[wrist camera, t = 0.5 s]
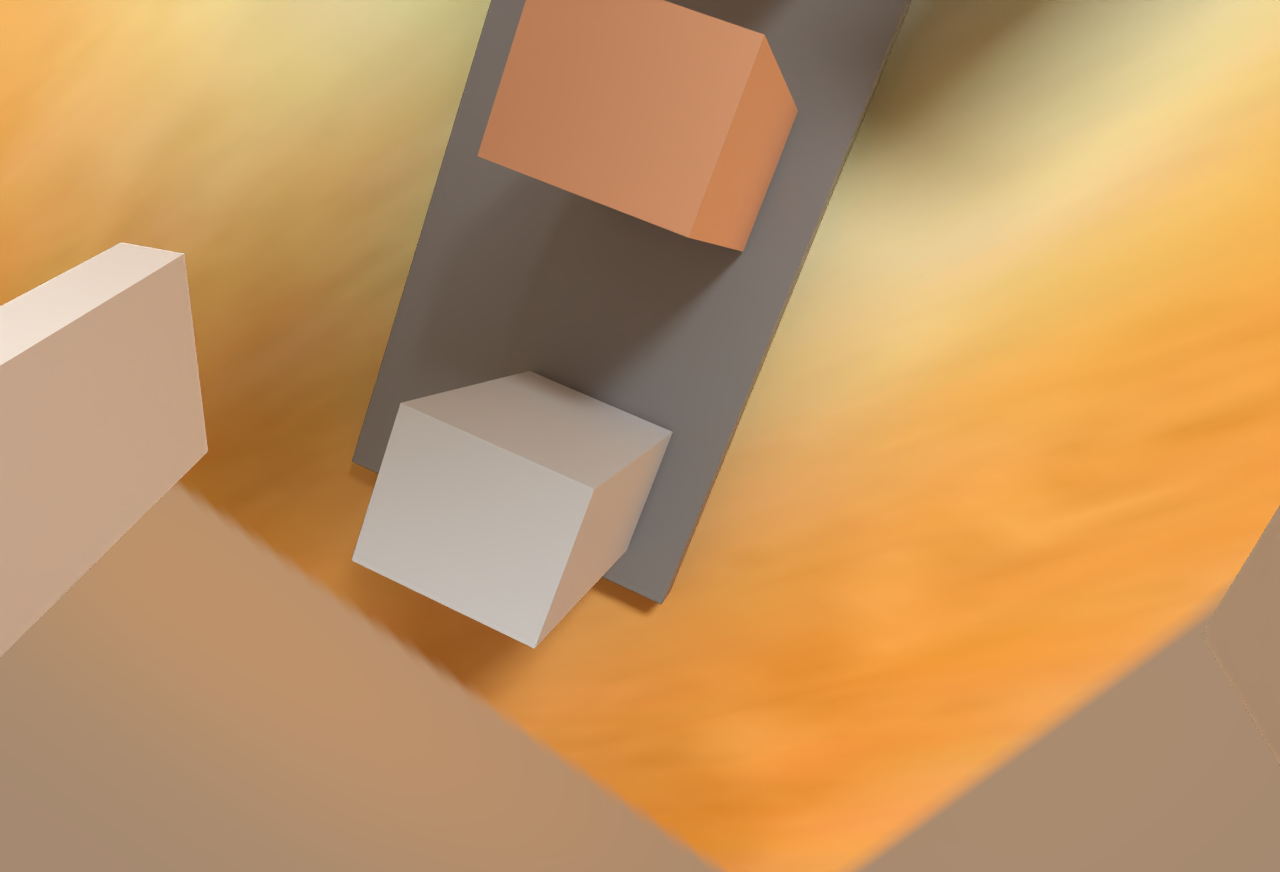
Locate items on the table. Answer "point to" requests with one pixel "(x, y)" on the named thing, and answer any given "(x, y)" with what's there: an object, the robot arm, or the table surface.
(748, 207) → the terracotta key
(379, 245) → the table surface
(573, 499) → the light grey block
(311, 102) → the table surface
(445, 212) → the charcoal key base
